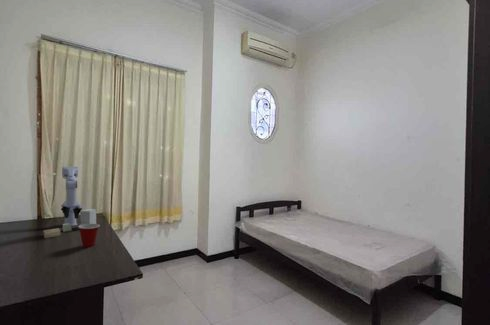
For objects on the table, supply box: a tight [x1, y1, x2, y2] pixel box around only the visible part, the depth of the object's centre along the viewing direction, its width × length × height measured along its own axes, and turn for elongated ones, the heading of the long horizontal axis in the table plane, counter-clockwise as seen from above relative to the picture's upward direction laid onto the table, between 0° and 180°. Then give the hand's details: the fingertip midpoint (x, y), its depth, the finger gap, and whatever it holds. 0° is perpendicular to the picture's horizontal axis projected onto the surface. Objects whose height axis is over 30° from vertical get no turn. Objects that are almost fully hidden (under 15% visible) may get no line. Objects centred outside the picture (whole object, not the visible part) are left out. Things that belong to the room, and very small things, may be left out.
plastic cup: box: [77, 223, 101, 248], centre depth 147 cm, size 11×11×12 cm
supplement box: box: [79, 208, 97, 225], centre depth 185 cm, size 7×7×13 cm
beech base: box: [43, 227, 61, 239], centre depth 165 cm, size 8×8×3 cm
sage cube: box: [62, 223, 72, 233], centre depth 176 cm, size 4×4×4 cm
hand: (71, 218), depth 173 cm, fingers open, 7 cm apart
